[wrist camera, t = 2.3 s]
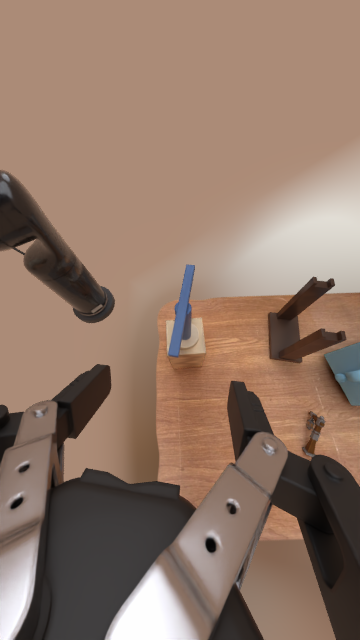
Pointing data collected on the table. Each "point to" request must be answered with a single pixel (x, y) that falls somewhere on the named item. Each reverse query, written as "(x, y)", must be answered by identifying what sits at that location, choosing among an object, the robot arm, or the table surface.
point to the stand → (287, 329)
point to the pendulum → (183, 319)
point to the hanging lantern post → (313, 433)
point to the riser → (191, 355)
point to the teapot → (347, 370)
